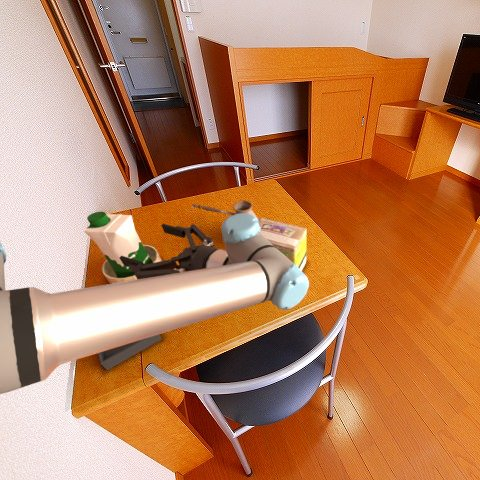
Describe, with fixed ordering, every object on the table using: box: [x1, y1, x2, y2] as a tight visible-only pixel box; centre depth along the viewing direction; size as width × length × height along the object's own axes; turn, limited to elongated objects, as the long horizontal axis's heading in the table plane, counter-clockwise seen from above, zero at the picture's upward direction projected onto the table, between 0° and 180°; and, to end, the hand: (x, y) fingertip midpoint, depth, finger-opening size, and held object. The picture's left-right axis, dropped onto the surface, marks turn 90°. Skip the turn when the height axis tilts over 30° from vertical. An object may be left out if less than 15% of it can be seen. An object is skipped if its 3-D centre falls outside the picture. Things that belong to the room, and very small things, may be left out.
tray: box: [97, 334, 162, 371], centre depth 66 cm, size 12×12×3 cm
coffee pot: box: [191, 199, 260, 220], centre depth 92 cm, size 21×12×15 cm, turn 102°
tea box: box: [258, 216, 308, 272], centre depth 81 cm, size 15×10×15 cm, turn 72°
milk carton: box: [83, 211, 153, 278], centre depth 76 cm, size 9×9×20 cm
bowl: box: [101, 244, 163, 284], centre depth 82 cm, size 14×14×4 cm
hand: (144, 243), depth 72 cm, fingers open, 13 cm apart
